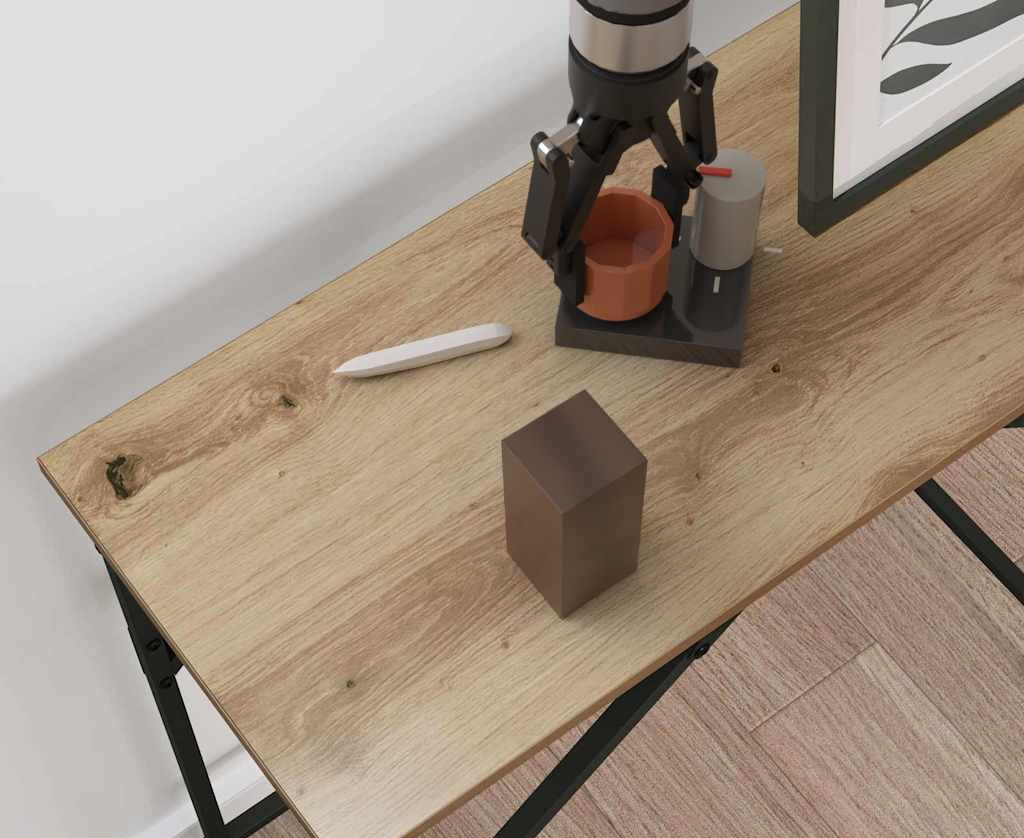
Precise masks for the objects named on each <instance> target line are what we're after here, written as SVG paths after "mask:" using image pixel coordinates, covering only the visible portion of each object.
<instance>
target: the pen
mask: <svg viewBox="0 0 1024 838" xmlns="http://www.w3.org/2000/svg"><path fill="white" fill-rule="evenodd" d="M512 335H513V331H512V329H511V328H510V327H508V326H507V325H505V324H503V323H500V322H491V323H485V324H480V325H476V326H470V327H467V328H464V329H460V330H459V329H458V330H455V331H451V332H448V333H447V332H446V333H443V334H439V335H435V336H432V337H431V336H430V337H427V338H423V339H419V340H415V341H411V342H408V343H404V344H400V345H396V346H393V347H389V348H384V349H381V350H376V351H373V352H369V353H366V354H362V355H358V356H356V357H354V358H351V359H349V360H348V361H346V362H344V363H342V364H341V365H340V366H339V367H337V368H336V369H335V370H334V371H332V374H335V375H338V376H341V377H342V376H343V377H347V378H348V377H349V378H367V377H373V376H379V375H380V376H381V375H387V374H391V373H396V372H401V371H407V370H411V369H415V368H420V367H425V366H428V365H432V364H436V363H440V362H443V361H447V360H451V359H455V358H458V357H463V356H467V355H470V354H473V353H479V352H482V351H485V350H490V349H493V348H496V347H498V346H501V345H502V344H504V343H506V342H507V341H508V340H509V339H510V338H511V336H512Z"/></svg>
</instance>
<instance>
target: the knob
mask: <svg viewBox="0 0 1024 838" xmlns="http://www.w3.org/2000/svg"><path fill="white" fill-rule="evenodd" d="M717 153H718V154H717V157H716V159H715V160H714V161H713V162H712V163H711V164H709V165H705V164H704V163H702V164H700V165H699V166H698V167H697V171H698V172H699V173H700V174H701V175H702V176H703V177H704V179H703V182H702V184H701V185H700V186H699V187H698V188H696V189H694V199H693V207H692V215H691V216H692V224H691V232H690V241H689V245H690V249H691V252H692V254H693V256H694V257H695V258H696V259H697V260H698V261H699V262H700V263H701V264H703V265H705V266H707V267H709V268H712V269H716V270H731V269H735V268H738V267H740V266H742V265H743V264H745V263H746V262H747V261H748V260H749V259H750V258H751V257H752V255H753V252H754V253H755V249H756V248H755V247H756V243H757V237H758V232H759V231H758V230H759V226H760V220H761V214H762V208H763V203H764V196H765V191H766V185H767V179H768V178H767V177H768V175H767V170H766V168H765V166H764V164H763V162H762V161H761V160H760V158H758V157H756V156H755V155H754V154H752V153H750V152H748V151H746V150H743V149H737V148H723V149H719V150H717Z"/></svg>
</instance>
